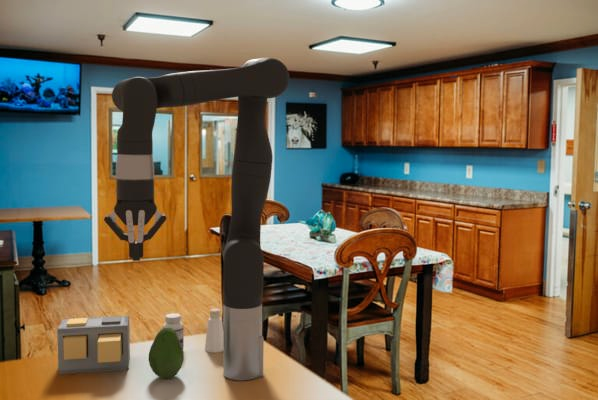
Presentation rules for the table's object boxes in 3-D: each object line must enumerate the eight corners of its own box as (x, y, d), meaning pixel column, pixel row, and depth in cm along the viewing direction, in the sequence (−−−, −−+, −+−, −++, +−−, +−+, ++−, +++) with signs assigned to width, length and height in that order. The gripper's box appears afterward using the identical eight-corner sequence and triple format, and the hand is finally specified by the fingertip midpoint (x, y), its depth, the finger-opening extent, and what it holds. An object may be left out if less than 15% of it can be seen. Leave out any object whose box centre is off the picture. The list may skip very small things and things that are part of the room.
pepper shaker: (203, 352, 156) (202, 312, 155) (206, 345, 162) (206, 306, 160) (223, 353, 156) (223, 312, 155) (226, 346, 161) (226, 307, 160)
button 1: (90, 346, 148) (89, 327, 147) (86, 358, 140) (85, 337, 139) (68, 348, 147) (68, 328, 146) (63, 359, 139) (63, 339, 138)
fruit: (149, 385, 134) (148, 334, 133) (148, 372, 142) (147, 324, 141) (184, 382, 137) (184, 332, 135) (182, 369, 144) (181, 322, 143)
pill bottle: (160, 348, 158) (160, 313, 158) (180, 346, 161) (180, 311, 160) (165, 355, 154) (165, 319, 153) (185, 352, 156) (185, 317, 155)
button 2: (122, 349, 146) (122, 329, 146) (120, 361, 138) (119, 340, 138) (101, 350, 145) (100, 331, 145) (97, 362, 137) (97, 341, 137)
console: (129, 357, 152) (129, 313, 151) (128, 369, 144) (127, 323, 143) (63, 361, 148) (62, 316, 147) (58, 374, 140) (57, 326, 139)
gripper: (168, 175, 126) (168, 255, 127) (103, 175, 123) (104, 257, 124) (168, 177, 119) (169, 262, 120) (99, 177, 116) (101, 264, 117)
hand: (136, 259), depth 122 cm, fingers closed
